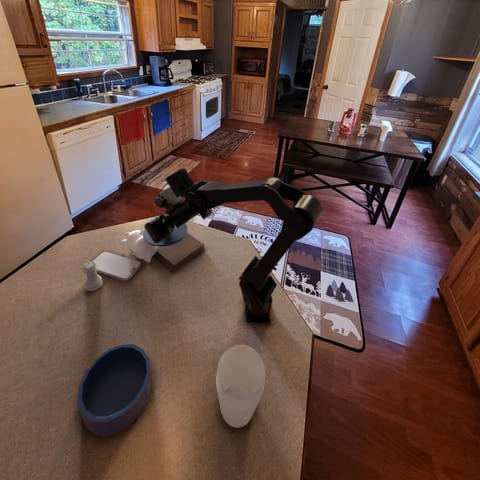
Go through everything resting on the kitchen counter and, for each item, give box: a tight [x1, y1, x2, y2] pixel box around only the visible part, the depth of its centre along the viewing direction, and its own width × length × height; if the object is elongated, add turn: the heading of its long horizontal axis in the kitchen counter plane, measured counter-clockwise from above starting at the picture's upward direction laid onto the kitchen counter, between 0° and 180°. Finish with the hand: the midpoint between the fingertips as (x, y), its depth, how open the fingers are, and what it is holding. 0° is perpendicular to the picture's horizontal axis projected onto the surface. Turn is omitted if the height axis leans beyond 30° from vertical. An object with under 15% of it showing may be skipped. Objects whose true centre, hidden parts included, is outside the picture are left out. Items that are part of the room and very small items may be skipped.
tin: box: [76, 343, 153, 437], centre depth 50 cm, size 13×13×5 cm
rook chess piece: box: [83, 260, 103, 292], centre depth 72 cm, size 4×4×8 cm
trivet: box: [154, 232, 205, 272], centre depth 88 cm, size 13×13×2 cm
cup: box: [215, 344, 266, 429], centre depth 48 cm, size 9×9×12 cm
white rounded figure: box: [121, 228, 158, 263], centre depth 85 cm, size 9×11×12 cm
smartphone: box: [92, 251, 142, 281], centre depth 79 cm, size 7×1×15 cm
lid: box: [143, 214, 188, 247], centre depth 79 cm, size 14×14×6 cm
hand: (162, 225), depth 80 cm, fingers closed on lid, 2 cm apart
